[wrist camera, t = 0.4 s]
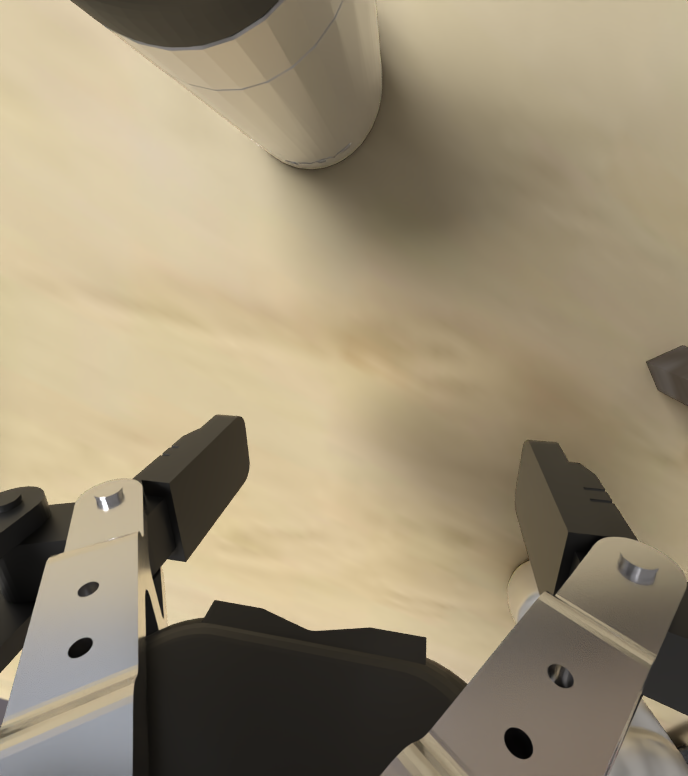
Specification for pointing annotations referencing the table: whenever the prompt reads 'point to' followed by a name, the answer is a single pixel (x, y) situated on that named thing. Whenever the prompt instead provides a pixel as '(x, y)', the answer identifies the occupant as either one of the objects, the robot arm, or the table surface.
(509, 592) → the plastic bottle
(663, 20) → the table surface
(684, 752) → the milk frother
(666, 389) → the counter stand
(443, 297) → the table surface
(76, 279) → the table surface
